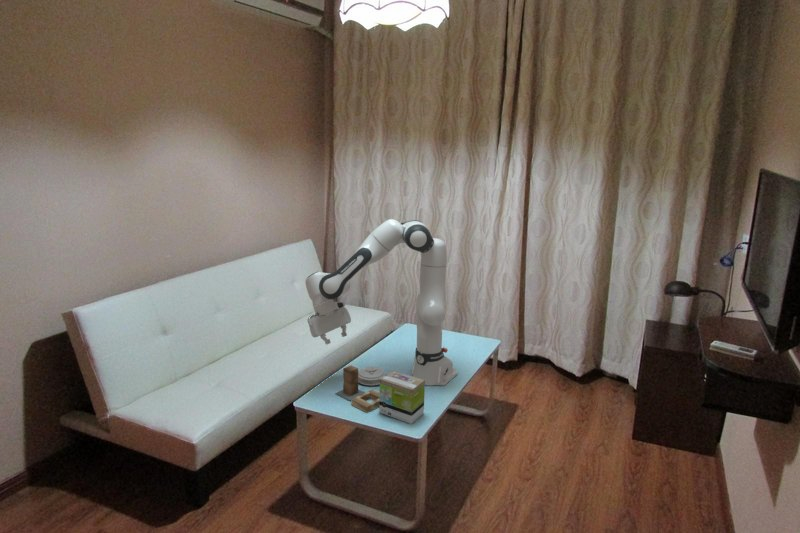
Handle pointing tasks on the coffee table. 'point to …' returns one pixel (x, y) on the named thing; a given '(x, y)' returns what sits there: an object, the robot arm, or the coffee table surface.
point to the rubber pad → (348, 395)
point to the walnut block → (350, 380)
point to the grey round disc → (370, 375)
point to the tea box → (402, 396)
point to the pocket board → (363, 404)
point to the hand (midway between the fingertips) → (336, 340)
